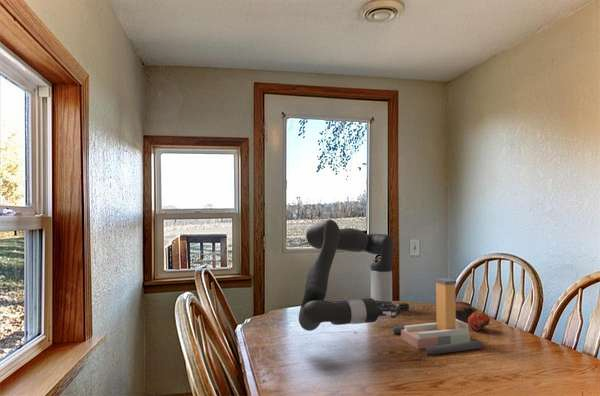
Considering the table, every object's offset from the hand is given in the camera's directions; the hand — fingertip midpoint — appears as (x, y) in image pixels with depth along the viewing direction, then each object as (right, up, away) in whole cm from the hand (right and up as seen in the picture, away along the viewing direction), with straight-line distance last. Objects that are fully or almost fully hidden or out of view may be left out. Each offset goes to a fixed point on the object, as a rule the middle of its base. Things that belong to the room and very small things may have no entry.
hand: (407, 306), depth 128 cm
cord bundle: (+7, -13, +12) cm, 19 cm away
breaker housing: (+10, -12, +3) cm, 16 cm away
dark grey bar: (+13, -12, -7) cm, 19 cm away
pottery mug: (+30, -13, +26) cm, 42 cm away
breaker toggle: (+14, -9, +4) cm, 17 cm away
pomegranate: (+30, -13, +13) cm, 35 cm away
